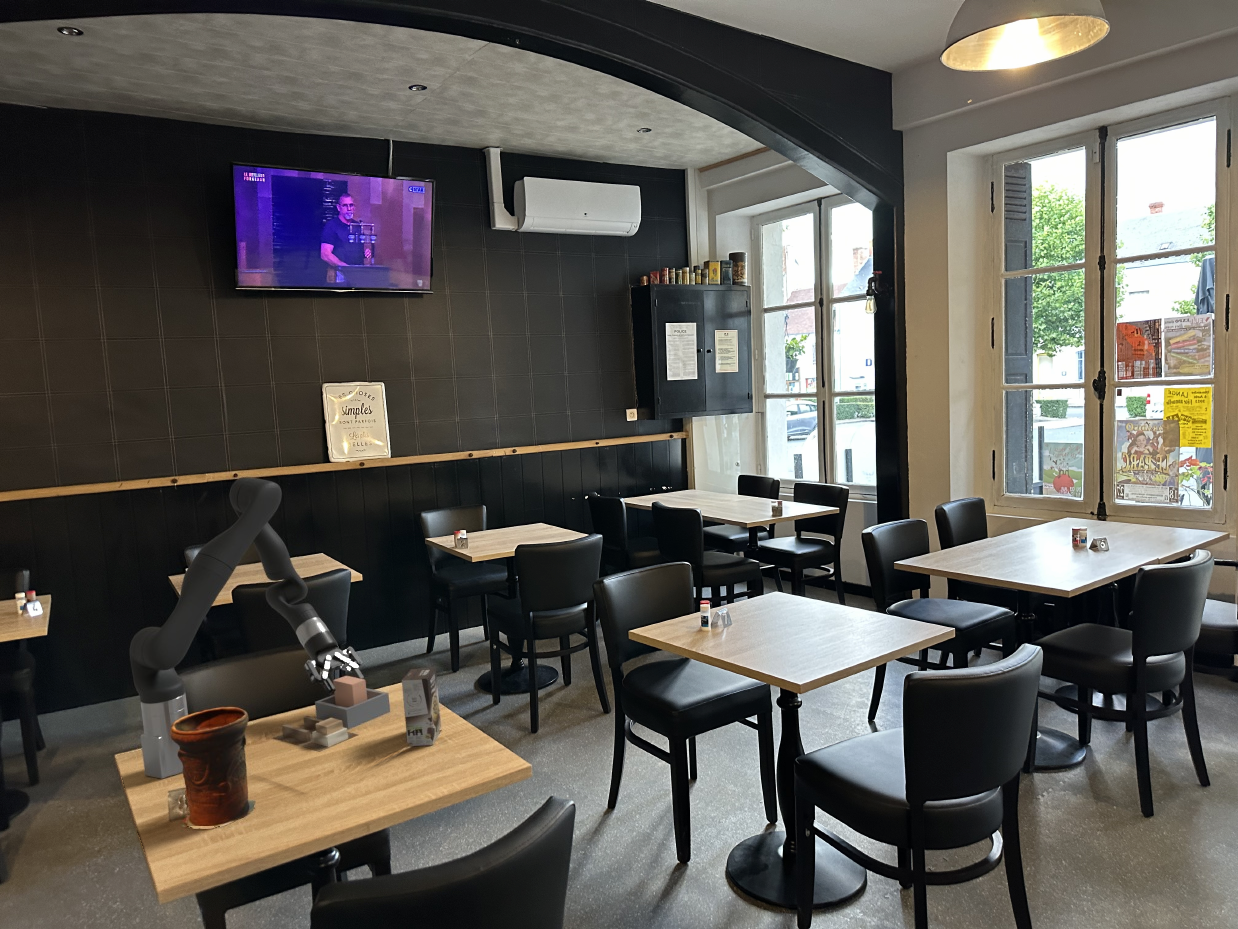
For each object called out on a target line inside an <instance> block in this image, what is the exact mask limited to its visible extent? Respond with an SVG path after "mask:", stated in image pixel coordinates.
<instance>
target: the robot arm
mask: <svg viewBox="0 0 1238 929" xmlns="http://www.w3.org/2000/svg"><path fill="white" fill-rule="evenodd" d="M282 495H283V493H282V489H281V487H280V485H279V484H278V483H276V482H275V481H270V480H266V479H261V478H257V477H251V476H244V477H243V476H242V477H239V478H237V479H236V480H235V481H234V482H233V483H232V484H231V487H230V491H229V501H230V504H231V506H232V508H233V510H234V512H235V513H236V515H237V516H238V519H237V521H235V523H234V524H233V525H231V526H230V527H228V529H226V530H225V531H223V532H222V533H220V534H218V535H217V536H215V537H214V538H212V539H211V540H210V541H208V542H207V543H206V544H204V545H203V546H202V547H201V549H200V550H199V551H198V553H196V555H195V557H194V559H192V561H191V563H190V564H189V566H188V568H187V569H186V571H185V573H184V575H183V579H182V583H181V588H180V594H179V598H178V601H177V603H176V605H175V608H174V609H173V611H172V612H171V614H170V616H169V617H168V618H167V620H166V622H164V624H163V625H162V626H161V627H160V626H159V627H158V626H147V627H145V628H142V629H140V630H139V631H138V632H137V633H135V635H133V638H132V639H131V642H130V646H129V660H130V667H131V672H132V677H133V678H132V679H133V684H134V688H135V689H136V691H137V693H138V696H139V700H140V709H141V716H142V717H141V718H142V725H143V726H142V727H143V733H142V734H141V735H140V743H141V750H142V752H141V754H142V759H143V767H144V769H143V770H144V775H145V776H148V777H152V778H158V779H164V778H168V777H172V776H174V775H178V774H181V773H183V772H182V771H183V764H182V762H181V760H180V759H179V757H178V751H179V749H180V747H179V745H178V744H176V743H175V742H174V741H173V740H172V738H171V735H170V732H171V726H172V724H173V723H174V722H175V721H177V720H179V719H180V718H182V717H184V716H187V715H189V713H188V703H187V696H186V685H185V682H184V680H183V678H181V677H180V676H179V674H178V673H177V671H176V670H175V667H176V666H178V664H180V663H181V661H182V660H183V659H184V657H185V656H186V655H187V653H188V650H189V649H190V647H191V645H192V642H193V641H194V638H195V637H196V634H197V632H198V630H199V628H200V626H201V624H202V623H203V620H204V619H205V618H206V616H207V614H208V612H209V611H210V609H211V608H212V606H213V605H214V602H215V601H216V599H217V597H218V596H219V594H220V593H221V591H222V590H223V589H224V587H225V585H226V584H227V582H228V581H229V579H230V578H231V576H232V575H233V573H234V572H235V570H236V568H237V567H238V565H239V563H240V561H241V559H242V558H243V557H244V556H245V554H246V552H247V551H248V549H249V548H250V547H251V545H252V543H253V545H254V547H255V549H256V552H257V554H258V556H259V559H260V562H261V565H262V568H263V571H264V574H265V576H266V577H267V579H269V580H270V581H272V582H276V583H274V584H271V585H270V586H269V587H268V588H267V589H266V591H265V598H266V602H267V603H268V605H269V606H270V607H271V608H272V609H274V610H275V611H276V612H277V613H278V614H279V615H281V616H282V617H283V618H284V619H285V620H286V621H288V623H289V625H290V626H291V627H292V629H293V631H294V632H295V634H296V636H297V638H298V641H299V642H300V644H301V645H302V647H303V649H304V650H305V651H306V653H307V655H308V656H309V658H310V659H307V661H306V662H305V664H304V666H303V669H304V671H305V672H306V674H307V676H308V678H309V680H310V682H311V683H312V685H317V684H321V685H322V687H323V688H324V690H325V692H326V693H327V694H329V695H330V696H332V695H335V693H334V692H335V690H336V689H335V687H334V684H333V682H332V681H331V679H330V678H329V677H328V674H329V673H333V672H334V671H338V670H342V671H347V672H349V673H351V677H355V678H359V679H364V678H365V677H364V674H362V672H361V670H360V667H361V665H362V664H363V660H362V659H361V657H360V656H359V655H358V654H357V652H356V651H355V649H354V648H353V647H352V646H348V648H346V649H344V650H342V649H341V648H340V647H339V644H338V642H337V640H336V639H335V637H334V636H333V633H331V632H330V629H329V628H328V627H327V624H325V622H324V621H323V620H322V619H321V618H320V616H319V615H318V613H317V611H316V610H315V608H314V607H313V605H311V604H310V603H307V602H305V603H300V604H296V603H298V602H300V601H302V600H303V599H305V598H306V597H307V595H308V592H309V591H308V586H307V584H306V582H305V581H304V580H303V578H302V577H301V576H300V575H299V574H298V572H297V571H296V569H295V566H294V565H293V563H292V560H291V556H290V553H289V551H288V548H287V546H286V544H285V542H284V541H283V539H282V538H281V537H280V535H278V533H277V532H276V531H275V529H273V527H272V526H271V525H270V524H269V521H270V520H271V519H272V517H273V516H274V515H275V513H276V511H277V510H278V508H279V506H280V504H281V502H282ZM344 663H345V664H344ZM317 668H318V669H320V673H318V671H317Z"/></svg>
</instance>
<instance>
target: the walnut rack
mask: <svg viewBox="0 0 1238 929" xmlns="http://www.w3.org/2000/svg"><path fill="white" fill-rule="evenodd" d="M302 718H303V725H301V726H298V727H297V726H293V725H291V724H287V723H284V724H282V725H281V727H282V728H281V729H282V733H281V734H278V735H276V736H274V737H273V739H276V740H280V741H283V742H286V743H289V744H293V745H296V746H299V747H302V748H306V749H310V750H313V751H316V752H319V753H320V752H323V751H326V750H327V749H330V748H332V747H334V746H337V745H339V744H341V743H344V742H346V741H349V740H350V739H351V740H352V739H353V738H355V737H357V736H359V733H358V734H357V733H354V732H350V731H348V739H346V740H344V741H341V742H339V743H337V744H334V745H332V746H330V747H327V746H323V745H320V744H316V743H313V736H312V732H314V731H316V724H317V723H319V722H322V721H324V720H321V719H317V717H314V716H313V717H312V716H309V715H304V716H303V717H302Z"/></svg>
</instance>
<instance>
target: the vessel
mask: <svg viewBox="0 0 1238 929" xmlns="http://www.w3.org/2000/svg"><path fill="white" fill-rule="evenodd" d="M248 714H249V713H248V712H247V711H246V710H244V709H242V708H239V707H234V706H222V707H216V708H211V709H204V710H202V711H198V712H194V713H191V714H188V715H187V716H184V717H182V718H180V719H179V720H177V721H175V722H174V723H173V724H172V726H171V732H170V735H171V738H172V740H173V741H174V742H175V743H176V744H178V745H179V747H180V749H179V751H178V757H179V759H180V760H181V762H182V764H183V771H182V772H181V773H182V775H183V780H184V784H185V785H184V786H185V791H184V794H185V796H186V798H187V805H188V811H189V812H188V813H189V814H186V817H184V819H183V822H182V823H185V824H184V825H182V827H184V828H188V827H187V826H214V829H216V828H215V827H216V826H220V827H219V828H221V827H224V826H228V825H229V824H232V823H234V822H235V821H238V820H239V819H243V818H245V817H246V816H248V815H250V814H251V813H252V812H253V811H254V810H256V808H255V805H256V800H254V799H252V798H250V799H249V786H248V774H247V762H246V761H247V760H246V759H247V758H246V750H245V748H246V747H245V746H246V745H247V738H246V729H247V727H248V725H249V724H248V723H249V715H248Z"/></svg>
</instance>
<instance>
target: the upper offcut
mask: <svg viewBox="0 0 1238 929" xmlns="http://www.w3.org/2000/svg"><path fill="white" fill-rule="evenodd" d="M341 729H343V722H342V720H338V719H334V718H329V719H327V720H324V721H322V722H319V723H317V724H316V732H318V733H321V734H325V735H329V734H332V733H334V732H337V731H339V730H341Z"/></svg>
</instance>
